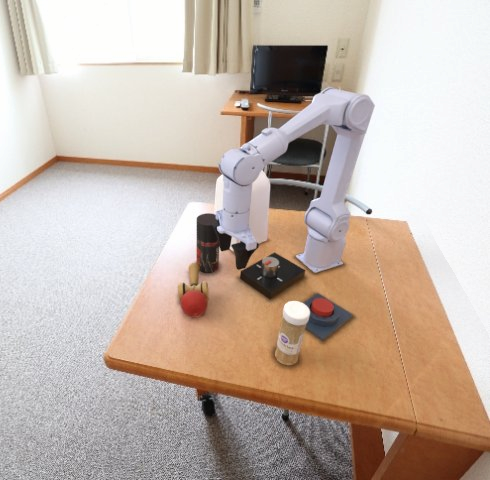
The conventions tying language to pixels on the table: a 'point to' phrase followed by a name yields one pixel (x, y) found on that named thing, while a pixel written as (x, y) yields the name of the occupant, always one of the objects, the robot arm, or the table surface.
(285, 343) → the sprinkles bottle
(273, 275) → the dial
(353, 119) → the robot arm
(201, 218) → the deodorant
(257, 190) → the milk
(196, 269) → the kendama
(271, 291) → the hob panel
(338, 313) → the button base
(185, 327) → the table surface
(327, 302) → the push knob
